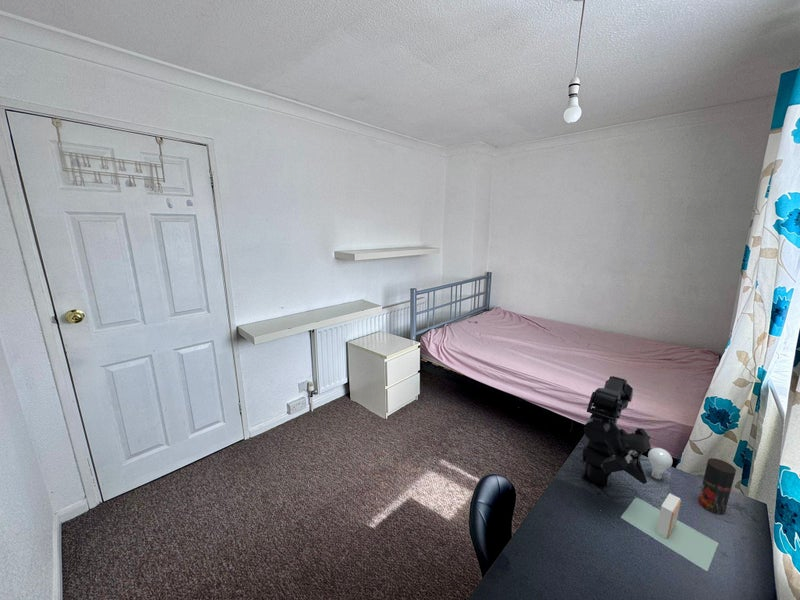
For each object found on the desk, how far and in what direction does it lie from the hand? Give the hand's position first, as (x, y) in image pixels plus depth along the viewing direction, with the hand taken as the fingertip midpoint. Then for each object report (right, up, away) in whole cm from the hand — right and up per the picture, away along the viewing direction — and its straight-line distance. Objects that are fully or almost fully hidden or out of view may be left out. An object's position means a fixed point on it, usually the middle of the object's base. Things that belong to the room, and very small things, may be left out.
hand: (645, 483), depth 94 cm
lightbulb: (+16, -8, +16) cm, 24 cm away
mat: (+4, -12, -3) cm, 13 cm away
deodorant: (+24, -10, +5) cm, 26 cm away
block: (+4, -11, -2) cm, 12 cm away
